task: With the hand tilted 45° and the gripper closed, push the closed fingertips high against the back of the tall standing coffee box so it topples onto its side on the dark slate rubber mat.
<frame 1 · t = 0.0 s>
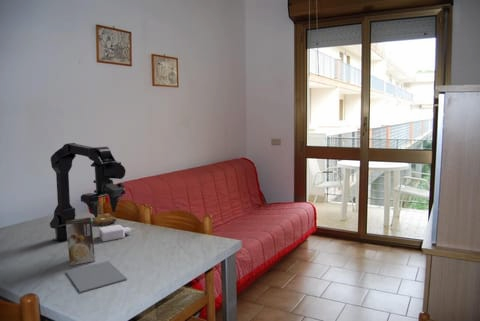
hand: (105, 214, 156), 15 cm above the table, tool pointing down, fingers open, 9 cm apart
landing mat: (95, 276, 130), on the table
charger: (118, 237, 174), on the table
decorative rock: (104, 223, 198), on the table
coffee box: (82, 261, 145), on the table
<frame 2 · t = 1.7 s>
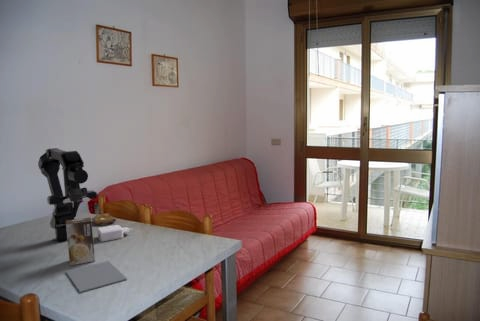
hand: (74, 217, 159), 13 cm above the table, tool pointing down, fingers closed
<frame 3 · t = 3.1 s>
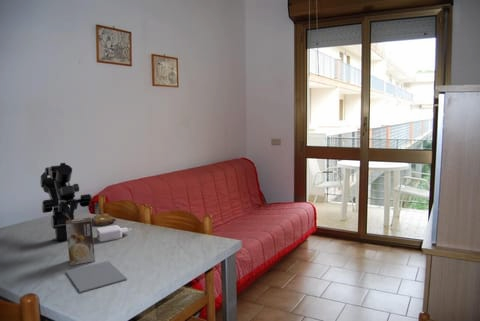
hand: (71, 220, 153), 13 cm above the table, tool tilted 45°, fingers closed
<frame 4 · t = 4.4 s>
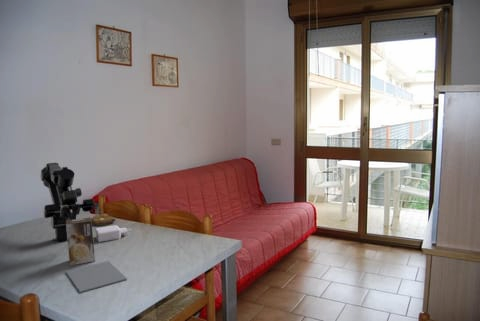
hand: (74, 225, 150), 12 cm above the table, tool tilted 45°, fingers closed
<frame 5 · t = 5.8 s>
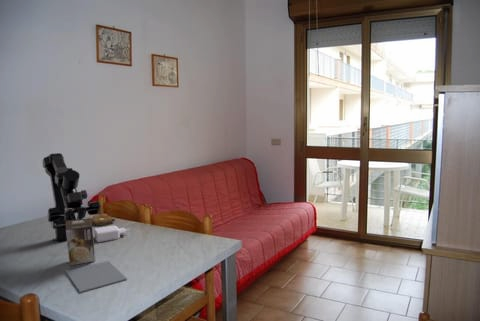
hand: (79, 229, 143), 13 cm above the table, tool tilted 45°, fingers closed
coffee box: (82, 258, 145), point 1 cm above the table
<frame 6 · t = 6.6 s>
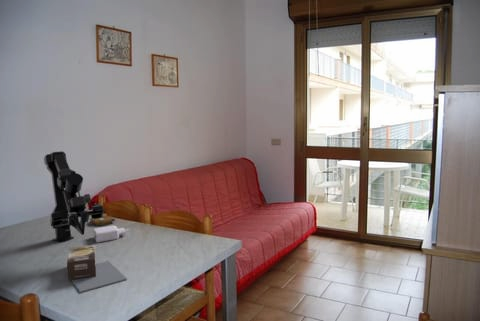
hand: (82, 234, 140), 12 cm above the table, tool tilted 45°, fingers closed
coffee box: (82, 253, 142), point 4 cm above the table, touching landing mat
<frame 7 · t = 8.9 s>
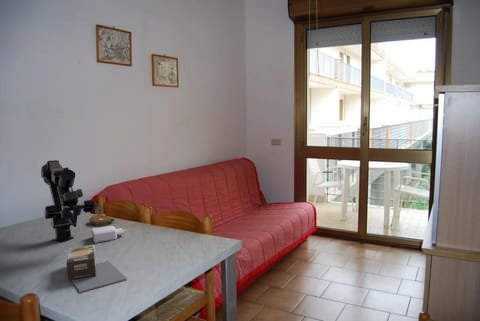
hand: (75, 226, 149), 12 cm above the table, tool tilted 45°, fingers closed
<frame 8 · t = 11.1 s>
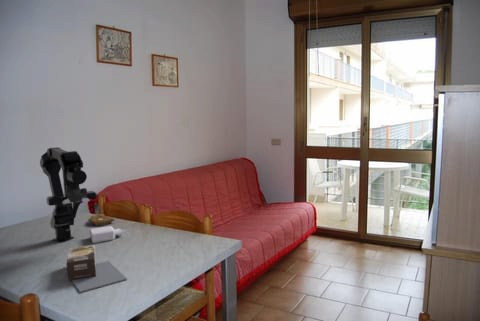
hand: (73, 217, 158), 13 cm above the table, tool pointing down, fingers closed
at the end: coffee box tilted 90°; coffee box touching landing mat; the gripper is holding nothing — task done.
